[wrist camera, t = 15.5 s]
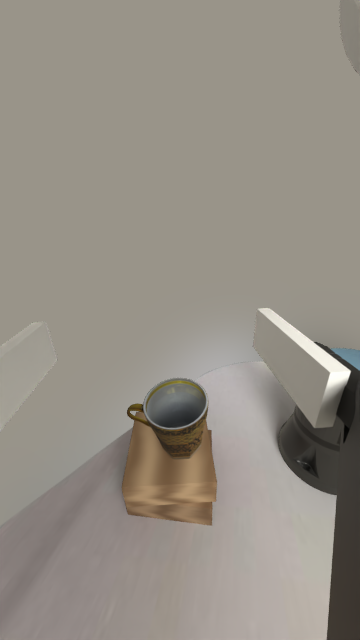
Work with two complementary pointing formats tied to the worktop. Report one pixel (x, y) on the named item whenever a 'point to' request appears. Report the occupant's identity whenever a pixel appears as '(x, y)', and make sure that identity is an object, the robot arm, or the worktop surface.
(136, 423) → the tower top block
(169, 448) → the ceramic cup
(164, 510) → the tower bottom block
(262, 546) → the worktop surface
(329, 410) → the robot arm
